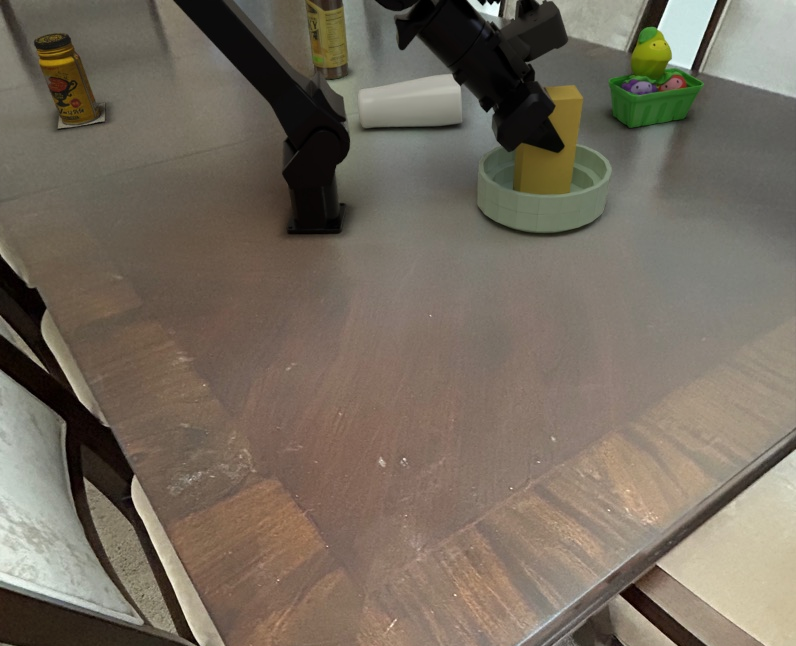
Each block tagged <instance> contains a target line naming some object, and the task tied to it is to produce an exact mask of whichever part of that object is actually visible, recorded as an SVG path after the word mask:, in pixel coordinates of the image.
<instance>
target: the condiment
mask: <svg viewBox="0 0 796 646" xmlns="http://www.w3.org/2000/svg"><path fill="white" fill-rule="evenodd" d="M33 45H34V47H35V49H36V54H37V56H38V57H39V58H38V59H39V60H38V65H39V68H40V70H41V73H42V74H43V77H44V80H45V82H46V85H47V88H48V89H49V94H50V95H51V98H52V100H53V103H54V106H55V108H56V110H57V113H58V124H57V129H64V128H65V129H66V128H74V127H81V126H86V125H91V124H96V123H101V122H106V102H101V103H98V104H97V101H96V98H95V95H94V92H93V90H92V87H91V84H90V82H89V79H88V76H87V73H86V70H85V67H84V64H83V61H82V59H81V56H80V55H79V53H77V51H76V50H75V47H74V44H73V43H72V38H71V37H70V35H69V34H68V33H63V32H54V33H47V34H44V35H41V36H37V37H36V38H35V39H34V40H33Z"/></svg>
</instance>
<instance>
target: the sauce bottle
mask: <svg viewBox="0 0 796 646" xmlns="http://www.w3.org/2000/svg"><path fill="white" fill-rule="evenodd" d="M304 2H305V3H304V4H305V10H306V18H307V19H306V20H307V27H308V36H309V42H310V43H309V44H310V52H311V60H312V65H313V71H314V75H315V74H316V72H317V71H320V72H321V73H322V75H323V76H324V78H325V79H326V80H327V79H328V80H336V79H339V78H344V77H345V76H347V75H348V73H349V63H348V62H349V52H348V51H349V50H348V40H347V30H346V18H345V8H344V6H345V5H344V2H343V0H304Z"/></svg>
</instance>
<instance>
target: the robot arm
mask: <svg viewBox="0 0 796 646" xmlns="http://www.w3.org/2000/svg"><path fill="white" fill-rule="evenodd" d="M172 1H173V2H174V4H175V5H176V6H177V7H179V9H180V10H181V11H182V12H183V13H184V14H185V15H186V17H188V18H189V19H190V20H191V22H192V23H194V25H195V26H196V27H197V28H198V29H199V30H200V31H201V32H202V33H203V34H204V35H205V36H206V38H207V39H208V40H209V41H210V42H211V43H212V44H213V45H214V46H215V47H216V48H217V49H218V50H219V51H220V53H221V54H223V56H224V57H225V58H226V59H227V60H228V61H229V62H230V63H231V64H232V65H233V66H234V67H235V68H236V70H238V72H239V73H240V74H241V76H243V77H244V78H245V79H246V80H247V81H248V82H249V83H250V85H251V86H252V87H253V88H254V89H255V90H256V91H257V92H258V93H259V94H260V95H261V96H262V97H263V98H264V100H265V101H266V102H267V103H268V104H269V105H270V107H271V109H272V110H273V113H274V114H275V116H276V118H277V120H278V122H279V124H280V126H281V127H282V130H283V131H284V133H285V135H286V137H285V138H284V140H283V142H282V163H281V165H282V166H281V176H282V177H283V179H284V181H285V183H286V184H287V190H288V196H289V200H290V207H291V214H290V216H289V219H288V222H287V225H286V233H288V234H329V233H331V234H332V233H333V234H335V233H337V234H338V233H341V231H342V228H343V224H344V220H345V216H346V212H347V204H346V203H345V202H340V199H339V191H338V190H339V189H338V181H337V173H336V169H337V167H338V165H340V164H341V163H342V162H343V161H344V160H345V159H346V158H347V157H348V154H349V151H350V149H351V135H350V128H349V127H350V126H349V120H348V115H347V112H346V108H345V107H346V106H345V100H344V96H343V95H341V94H340V93H337V92H336V91H335V90H334V89H333V88H332V87H331V85H330V84H329V82H328V81H327V79H325V78H324V76H323V75H322V73H321V72H320V71H317V72H316V74H315V73H314V75H313V76H312V77H311V78H309V77H307V76H305V75H304V74H302V73H300V72H299V71H298V70H296V69H295V68H294V67H293V66H292V65H291V64H290V63H289V62H288V61H287V59H286V58H285V57H284V56H283V55H282V54H281V52H280V51H278V49H277V48H276V47H275V46H274V45H273V44H272V42H271V41H270V40H269V39H268V38H267V37H266V35H264V33H263V32H262V31H261V30H260V29H259V27H258V26H257V25H256V24H255V23H254V22H253V20H251V18H250V17H249V16H248V15H247V14H246V12H245V11H244V10H243V9H242V8H241V7H240V6H239V5H238V3H237V2H236V1H235V0H172ZM374 1H375V2H376V3H377V4H378V5H380V6H381V7H382V8H384V9H385V10H387V11H391V12H402V11H405V10H407V9H409V8H410V9H409V10H408V12H407V13H404V14H394V15H393V21H394V24H395V27H396V28H395V29H396V30H395V31H396V34H395V40H396V45H397V47H398V49H399V51H405V50H406V49H407V47H408V46H409V45H410V44H411V43H412V41H413V40H414V39H415V37H416V38H417V39H418V40H419V41H420V42H421V43H422V44H423V45H424V46H425V47H426V48H427V49H428V50H429V51H430V52H431V53H432V54H433V55H434V56H435V57H436V58H437V59H438V60H439V61H440V62H441V63H442V64H443V65H444V67H445V68H447V69H448V70H449V71H450V73H451V74H452V75H453V78H454V80H455V81H456V82H457V83H458V84H459V85H460V86H461V87H462V85H463V86H464V87H465V88H466V89H467V90H468V91H469V92H470V93H471V94H472V95H473V96H474V97H475V98H476V100H477V101H478V104H479V106H480V108H481V109H482V110H483V111H484V112H485V113H488V112H489V111H490V110H491V109H492V111H493V114H492V116H491V130H492V133H493V136H494V138H495V140H496V142H497V143H498V144H499V146H502V147H503V148H504V149H505V150H506V151H507V152H508V153H509V152H512V151H514V150H515V149H516V148H517V147H518V146H519V145H520V144H521V143H524V144H528V145H531V146H535V147H538V148H542V149H545V150H548V151H552V152H555V153H559V152H560V151H561V150H562V149H564V147H565V145H564V143H563V141H562V140H561V138H560V136H559V135H558V133H557V131H556V129H555V128H554V126H553V124H552V123H551V121H550V119H549V118H548V117H549V116H550V115H551V114H552V113H553V111H554V109H555V107H556V105H555V104H554V102H553V100H552V98H551V97H550V95H549V94H548V92H547V90H546V89H545V88H543V87H544V86H542V85H541V84H540V82H539V81H538V80H536V70H535V68H534V67H533V64H532V63H530V62H532V61H535V60H537V59H539V58H540V57H543V56H544V55H546V54H547V53H549V52H550V51H553V50H558V49H561V48H563V47H564V46H566V45H567V44H568V42H569V37H568V34H567V30H566V27H565V23H564V20H563V17H562V13H561V11H560V8H559V7H558V6H557V5H556V3H555V2H554V1H553V0H542V3H539V1H537V0H516V1H515V11H514V17H513V18H512V17H511V18H510V19H509V22H510V23H508V24H506V25H505V26H503V27H502V28H499V26H497V24H496V23H495V21H493V20H492V21H491V22H490V21H489V20H486V19H485V18H484V17H483V16H482V15H481V13H479V11H478V10H477V9H476V8H475V7H474V6H473V5H472V4H471V3H470V1H469V0H374ZM476 1H477V2H478V3H479V4H480V5H481V6H482V7H484V6H485V4H486V3H488V4H489V5H490V6H492V5H493V4H494V3H495V4H497V5H499V4H500V3H501V2H502V1H503V0H476Z"/></svg>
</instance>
